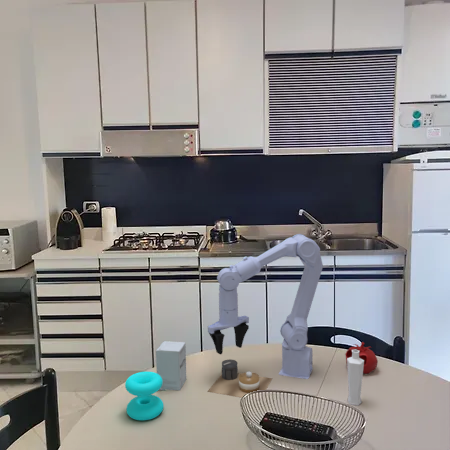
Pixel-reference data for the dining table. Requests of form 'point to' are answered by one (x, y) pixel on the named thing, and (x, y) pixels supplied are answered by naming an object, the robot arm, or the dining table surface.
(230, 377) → the cap
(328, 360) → the dining table surface
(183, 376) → the supplement box
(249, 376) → the jar
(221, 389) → the board
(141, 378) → the donuts
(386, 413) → the dining table surface
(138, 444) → the dining table surface
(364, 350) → the pomegranate
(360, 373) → the perfume bottle
